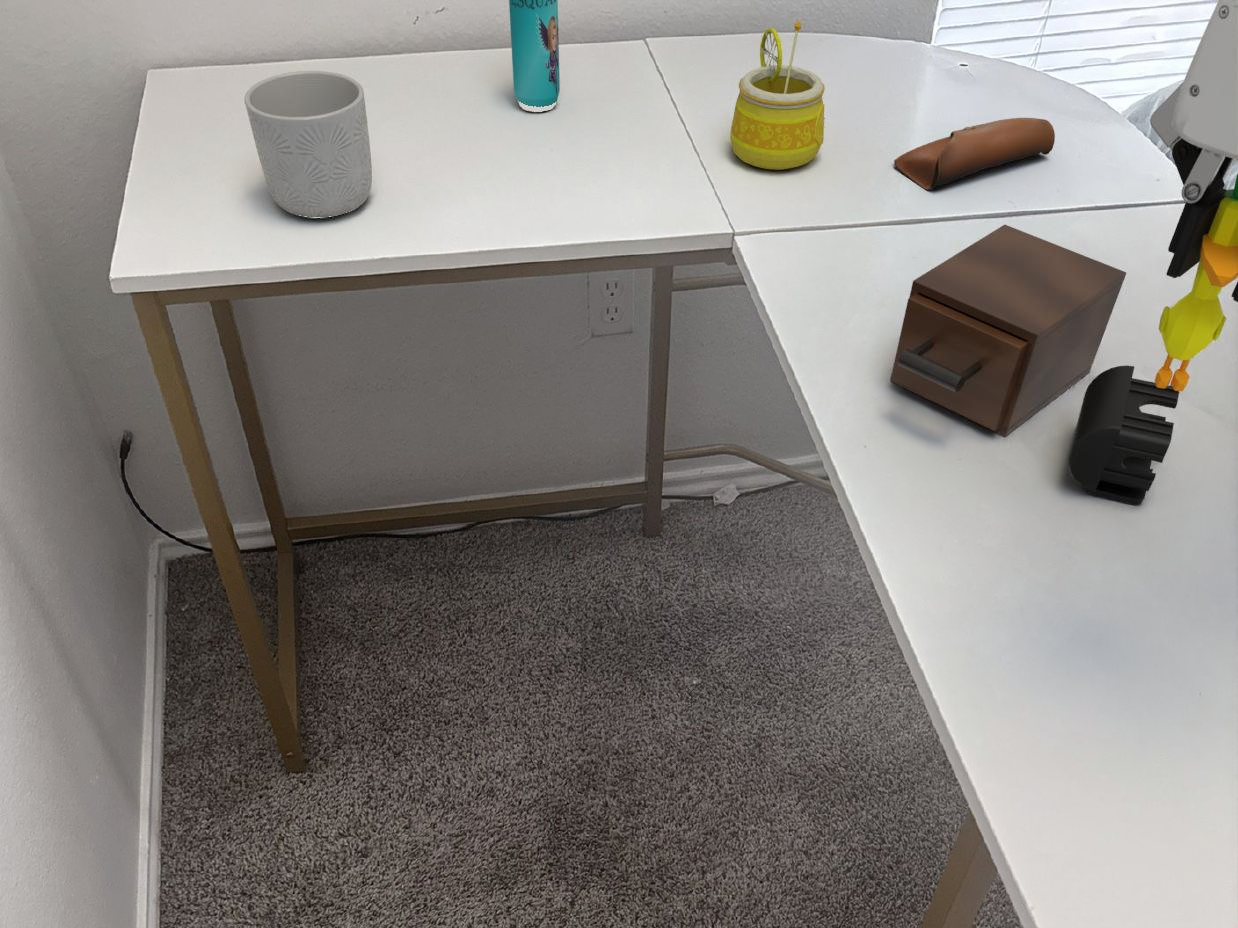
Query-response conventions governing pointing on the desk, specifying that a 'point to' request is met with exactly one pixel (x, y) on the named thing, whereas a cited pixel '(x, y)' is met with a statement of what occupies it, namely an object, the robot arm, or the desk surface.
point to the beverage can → (535, 51)
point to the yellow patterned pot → (778, 112)
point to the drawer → (957, 360)
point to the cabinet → (1031, 308)
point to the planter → (312, 141)
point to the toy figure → (1202, 296)
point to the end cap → (1120, 436)
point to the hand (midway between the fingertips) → (1215, 277)
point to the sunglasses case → (976, 150)
